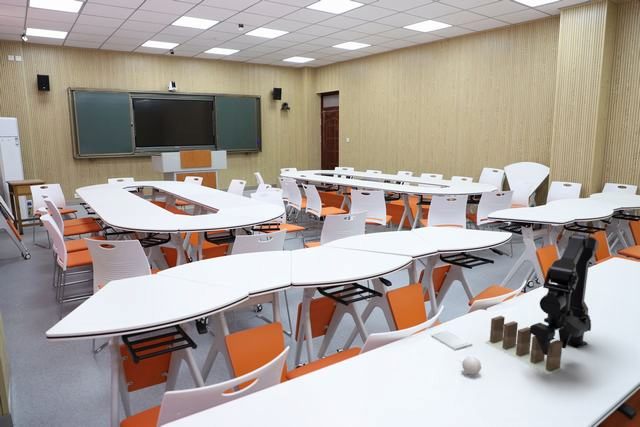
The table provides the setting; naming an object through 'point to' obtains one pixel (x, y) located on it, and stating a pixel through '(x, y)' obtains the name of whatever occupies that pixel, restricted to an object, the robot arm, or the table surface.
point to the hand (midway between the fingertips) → (554, 351)
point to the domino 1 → (497, 329)
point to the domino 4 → (536, 352)
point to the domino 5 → (554, 355)
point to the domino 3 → (523, 342)
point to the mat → (523, 357)
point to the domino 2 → (510, 335)
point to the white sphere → (471, 365)
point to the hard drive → (451, 340)
